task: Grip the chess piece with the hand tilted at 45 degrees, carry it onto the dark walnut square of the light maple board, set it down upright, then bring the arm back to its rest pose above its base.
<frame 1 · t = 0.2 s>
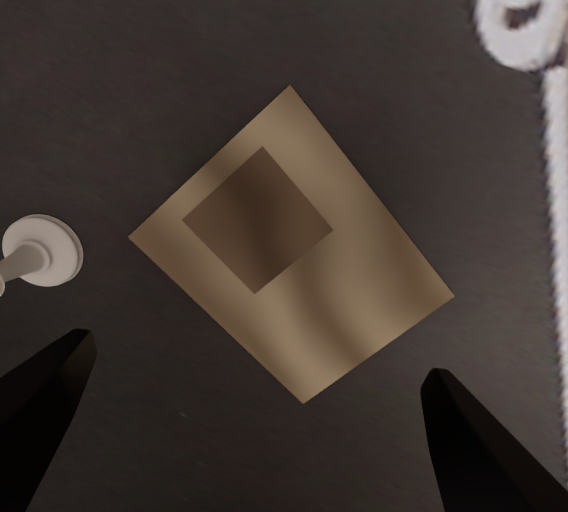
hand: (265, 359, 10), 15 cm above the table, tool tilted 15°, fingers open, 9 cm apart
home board: (297, 265, 25), on the table
chess piece: (48, 249, 25), on the table
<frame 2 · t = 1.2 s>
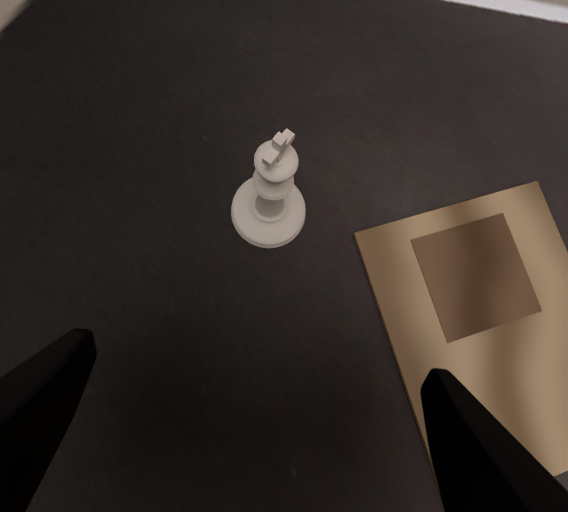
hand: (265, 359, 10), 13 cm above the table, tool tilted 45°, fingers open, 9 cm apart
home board: (494, 333, 24), on the table
chess piece: (268, 212, 24), on the table
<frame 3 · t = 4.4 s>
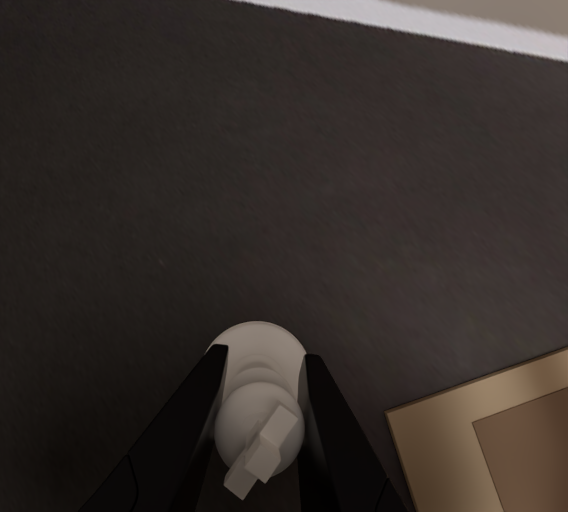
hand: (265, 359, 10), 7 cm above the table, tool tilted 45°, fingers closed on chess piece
chess piece: (255, 378, 16), on the table, touching gripper
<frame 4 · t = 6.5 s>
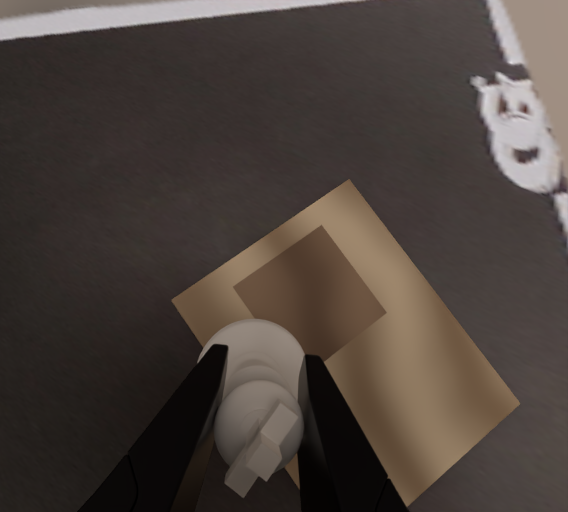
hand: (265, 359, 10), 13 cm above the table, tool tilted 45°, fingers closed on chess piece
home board: (346, 352, 23), on the table
chess piece: (252, 375, 16), point 6 cm above the table, touching gripper
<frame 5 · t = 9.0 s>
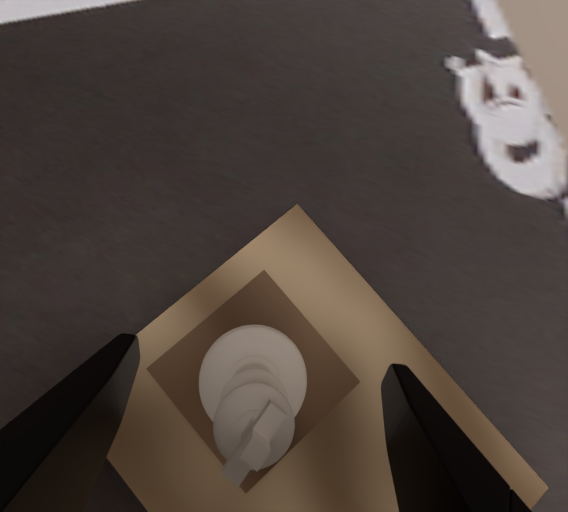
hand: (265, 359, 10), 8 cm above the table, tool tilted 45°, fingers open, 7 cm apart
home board: (310, 440, 17), on the table
chess piece: (253, 378, 17), resting on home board
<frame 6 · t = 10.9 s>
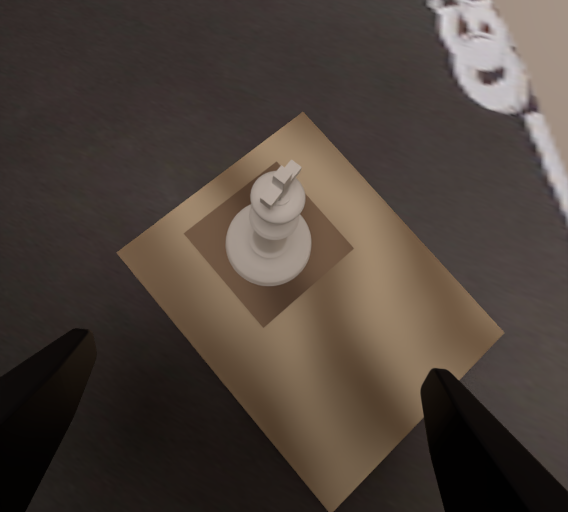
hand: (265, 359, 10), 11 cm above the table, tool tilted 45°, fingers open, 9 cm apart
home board: (314, 294, 21), on the table
chess piece: (268, 244, 21), resting on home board
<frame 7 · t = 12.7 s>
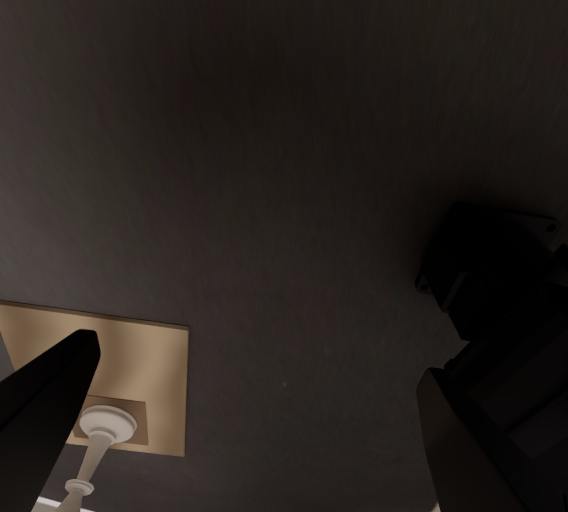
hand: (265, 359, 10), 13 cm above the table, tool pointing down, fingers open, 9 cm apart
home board: (106, 389, 32), on the table
chess piece: (110, 418, 34), resting on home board
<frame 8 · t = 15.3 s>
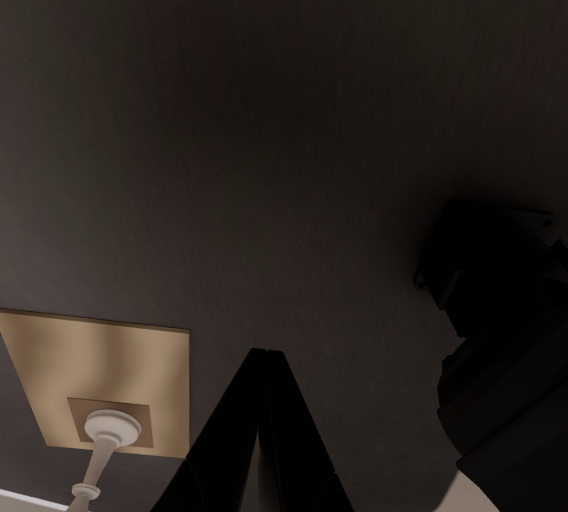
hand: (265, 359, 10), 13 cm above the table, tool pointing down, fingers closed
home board: (109, 393, 32), on the table
chess piece: (115, 422, 34), resting on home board
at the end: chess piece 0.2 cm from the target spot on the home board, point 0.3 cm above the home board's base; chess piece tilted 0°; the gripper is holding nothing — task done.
